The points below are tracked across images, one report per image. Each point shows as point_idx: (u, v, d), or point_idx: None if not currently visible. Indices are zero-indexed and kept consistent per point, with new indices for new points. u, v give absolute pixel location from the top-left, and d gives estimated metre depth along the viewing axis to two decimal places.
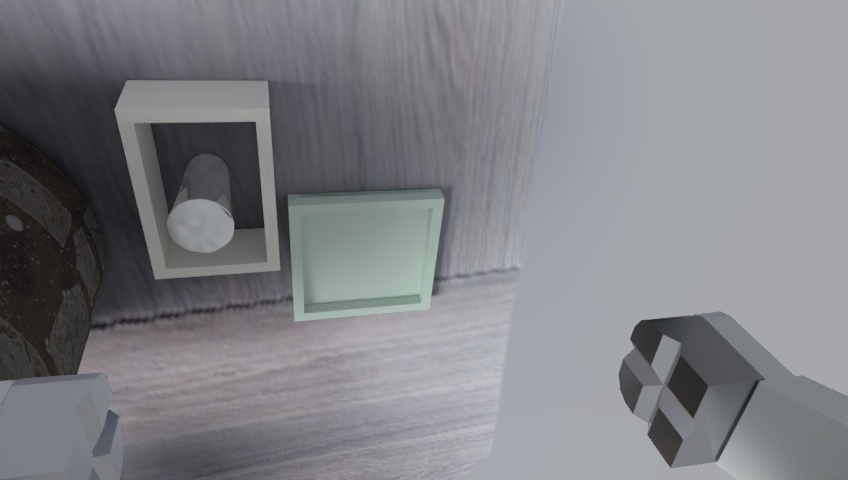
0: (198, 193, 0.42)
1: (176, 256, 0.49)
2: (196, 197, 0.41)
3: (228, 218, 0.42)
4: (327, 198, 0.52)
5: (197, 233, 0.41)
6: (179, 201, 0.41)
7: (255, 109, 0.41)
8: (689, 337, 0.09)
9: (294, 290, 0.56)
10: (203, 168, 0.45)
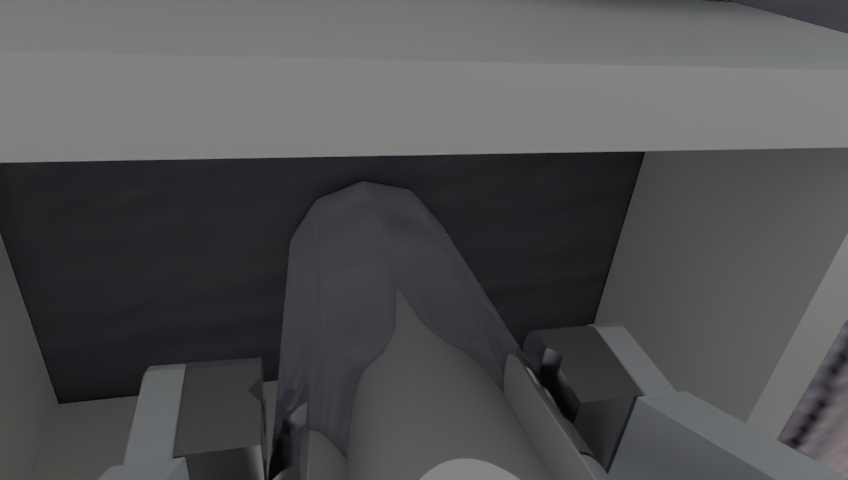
0: None
1: None
2: None
3: None
4: None
5: None
6: None
7: None
8: (573, 349, 0.09)
9: None
10: None
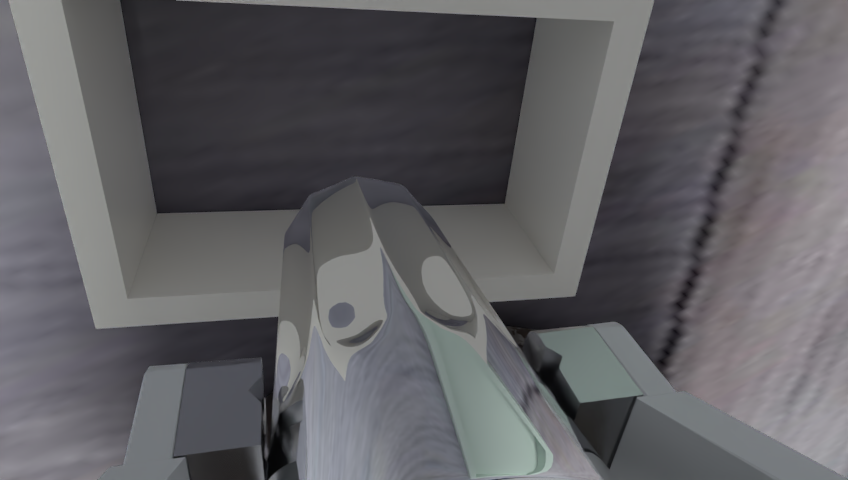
0: None
1: (539, 232, 0.20)
2: None
3: None
4: None
5: None
6: None
7: None
8: (573, 349, 0.09)
9: None
10: None
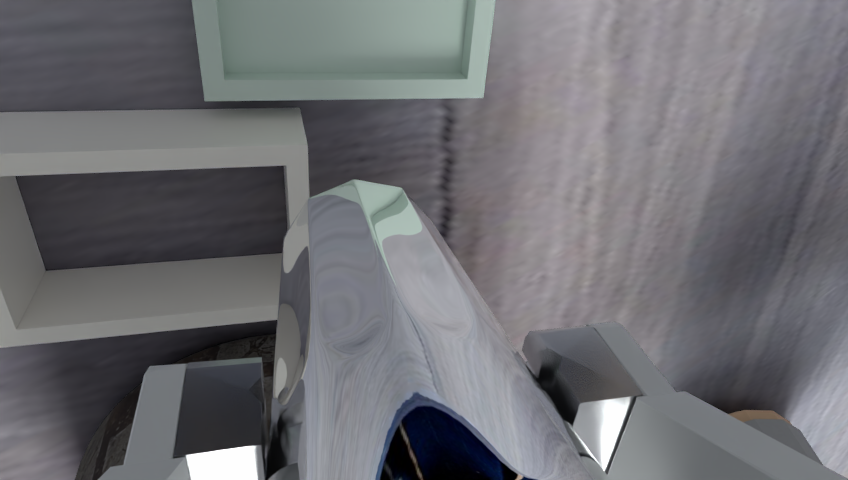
0: None
1: None
2: None
3: None
4: None
5: None
6: None
7: None
8: (573, 349, 0.09)
9: (406, 95, 0.30)
10: None
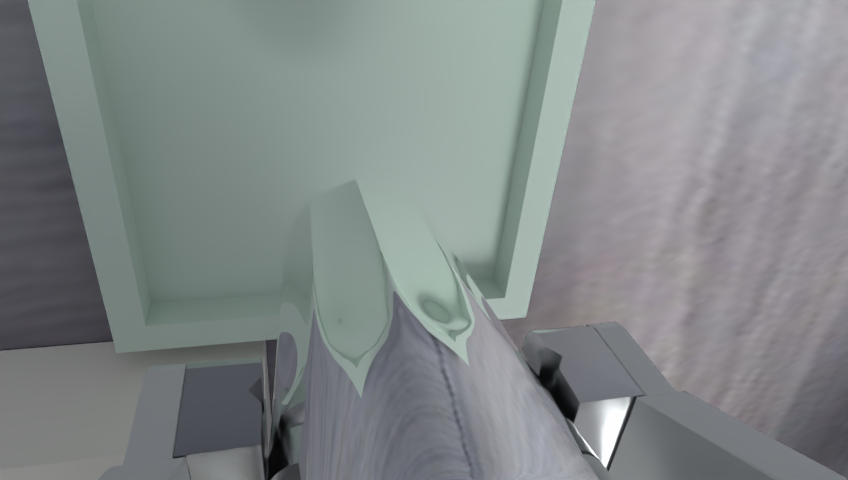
0: None
1: None
2: None
3: None
4: None
5: None
6: None
7: None
8: (573, 349, 0.09)
9: None
10: None
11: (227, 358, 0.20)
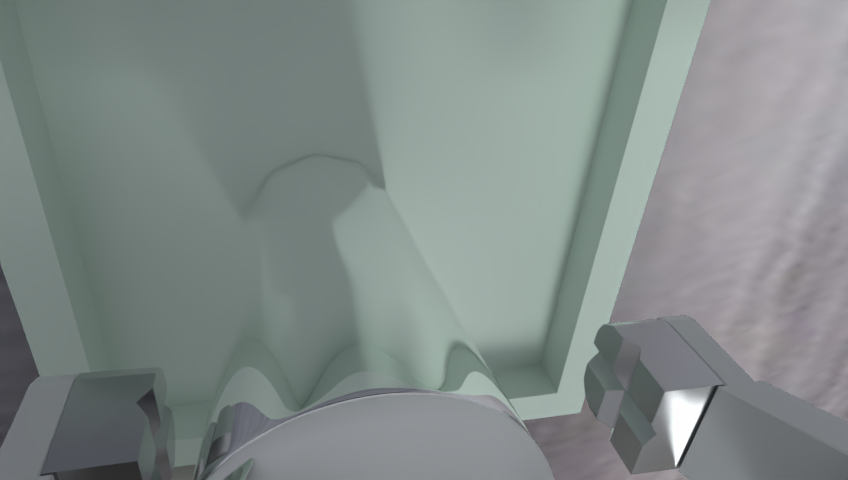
0: None
1: None
2: None
3: (307, 461, 0.06)
4: None
5: None
6: None
7: None
8: (650, 341, 0.09)
9: None
10: None
11: None
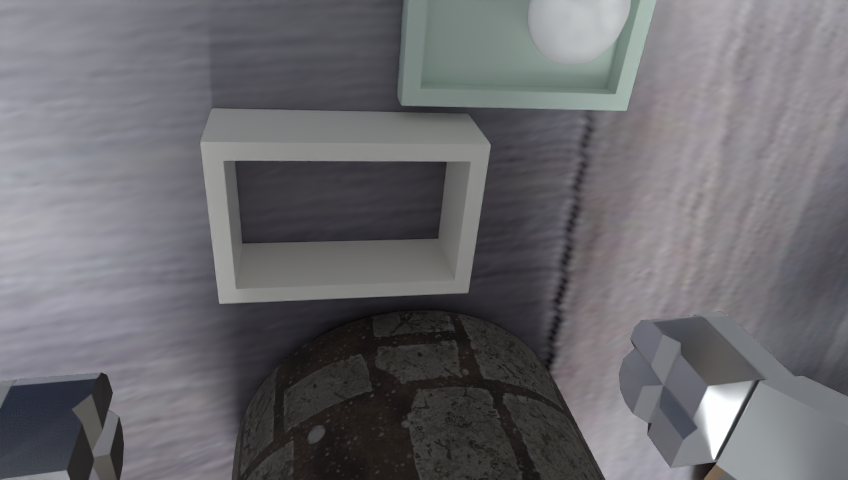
0: (523, 4, 0.26)
1: (449, 257, 0.37)
2: (526, 8, 0.25)
3: None
4: (403, 39, 0.32)
5: (585, 21, 0.24)
6: (529, 36, 0.26)
7: (204, 158, 0.29)
8: (689, 337, 0.09)
9: (563, 106, 0.35)
10: None
11: (453, 121, 0.35)
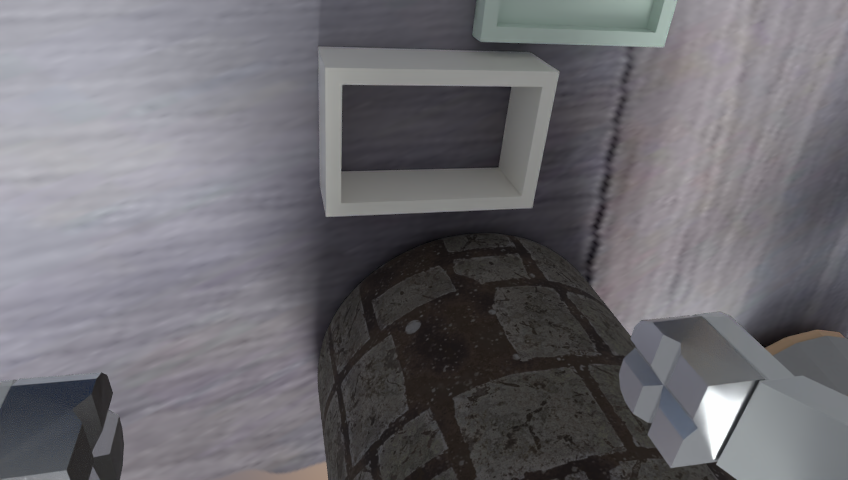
0: None
1: (515, 178, 0.43)
2: None
3: None
4: None
5: None
6: None
7: (326, 83, 0.35)
8: (689, 337, 0.09)
9: (612, 43, 0.41)
10: None
11: (521, 56, 0.40)
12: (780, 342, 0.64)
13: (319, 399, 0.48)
